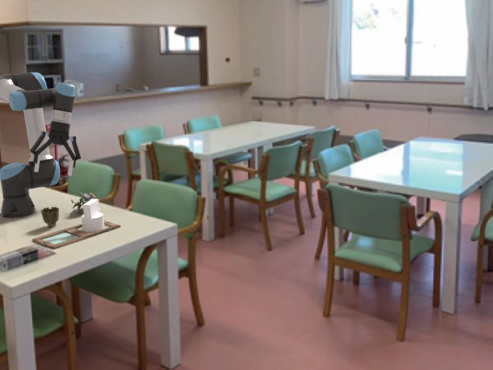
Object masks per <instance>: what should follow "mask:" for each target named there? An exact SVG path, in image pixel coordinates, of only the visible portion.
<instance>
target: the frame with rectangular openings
mask: <svg viewBox="0 0 493 370" xmlns="http://www.w3.org/2000/svg"><path fill="white" fill-rule="evenodd" d="M104 226H108V227H104V229H102V230H99V231H96V232H85V231H83V230H81V229H80V228H83V226H82V223H80V224H76V225H73V226H70V227H66V228H64V229H59V230H56V231H54V232H50V233H47V234H44V235H41V236H38V237H34V238H32V242H34V243H37V244H40V243H43V244H45V245H47V246H48V248H50V249H53V250H57V249H59V248H62V247H65V246H68V245H71V244H73V243H74V244H75V243H77V242H79V241H83V240H85V239H89V238H92V237H94V236H99V235H101V234H103V233H106V232H110V231H113V230H115V229H118V228H121V225H120V224H118V223H114V222H110V221H108V220H107V221H106V220H104ZM45 245H44V246H45ZM47 246H46V247H47Z"/></svg>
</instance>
